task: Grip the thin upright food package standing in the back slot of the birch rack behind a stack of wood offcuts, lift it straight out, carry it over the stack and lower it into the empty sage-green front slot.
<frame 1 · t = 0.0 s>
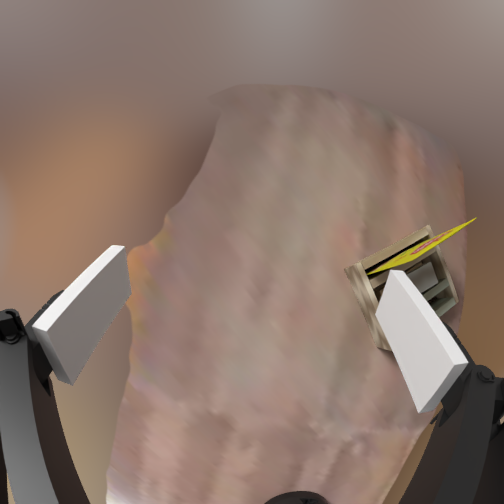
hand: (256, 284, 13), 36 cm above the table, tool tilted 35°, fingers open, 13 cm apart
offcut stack: (397, 286, 49), resting in rack
food package: (386, 261, 50), resting in rack
rack: (395, 279, 49), on the table
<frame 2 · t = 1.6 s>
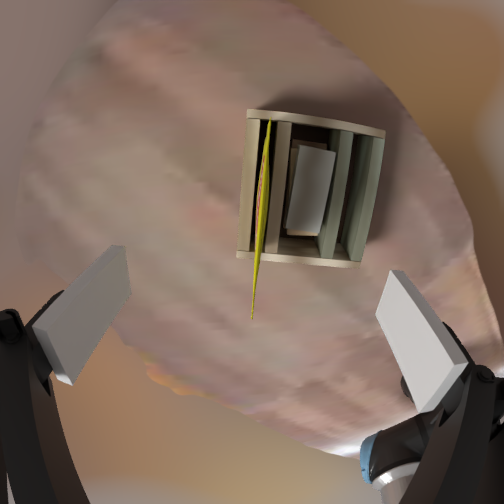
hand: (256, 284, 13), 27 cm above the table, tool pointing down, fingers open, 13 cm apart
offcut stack: (302, 183, 37), resting in rack
food package: (263, 179, 38), resting in rack
rack: (292, 182, 37), on the table
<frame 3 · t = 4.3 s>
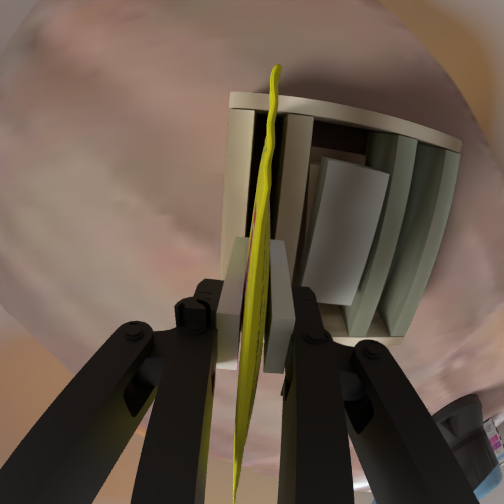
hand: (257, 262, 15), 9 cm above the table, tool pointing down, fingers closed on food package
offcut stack: (323, 217, 24), resting in rack
food package: (261, 210, 24), resting in rack, touching gripper
candy bar box: (483, 425, 46), on the table
rack: (307, 215, 24), on the table
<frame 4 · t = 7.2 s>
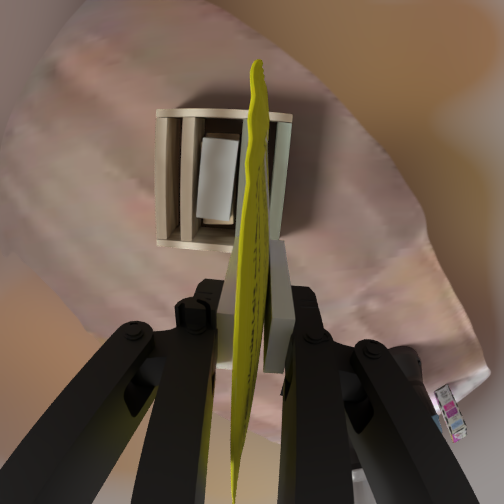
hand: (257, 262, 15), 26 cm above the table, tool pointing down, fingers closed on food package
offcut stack: (222, 174, 39), resting in rack
food package: (263, 210, 24), point 16 cm above the table, touching gripper
candy bar box: (441, 394, 61), on the table
rack: (212, 174, 39), on the table
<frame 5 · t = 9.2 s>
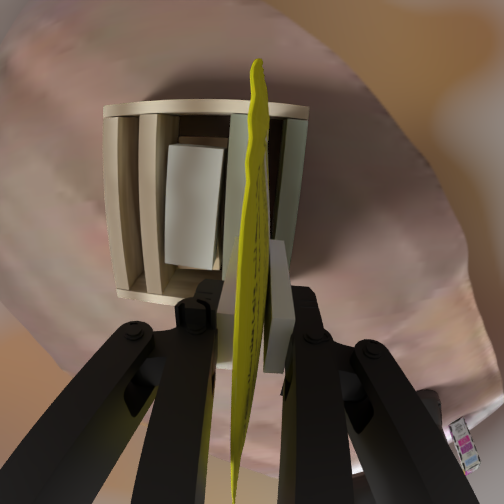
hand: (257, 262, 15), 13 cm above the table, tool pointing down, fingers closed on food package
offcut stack: (204, 196, 27), resting in rack
food package: (263, 210, 24), point 4 cm above the table, touching gripper
candy bar box: (455, 425, 49), on the table
rack: (191, 195, 27), on the table
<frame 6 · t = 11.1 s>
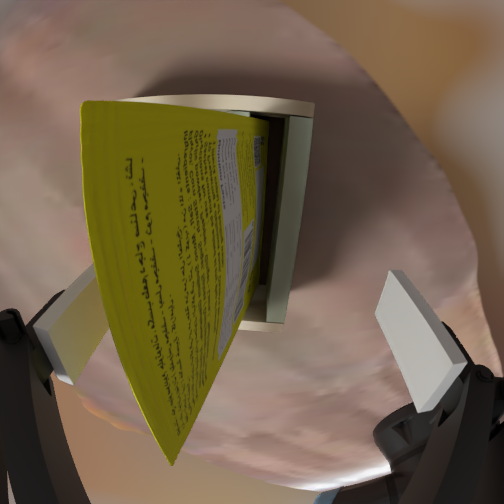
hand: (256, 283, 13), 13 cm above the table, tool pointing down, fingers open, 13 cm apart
food package: (264, 206, 25), resting in rack
rack: (184, 201, 25), on the table
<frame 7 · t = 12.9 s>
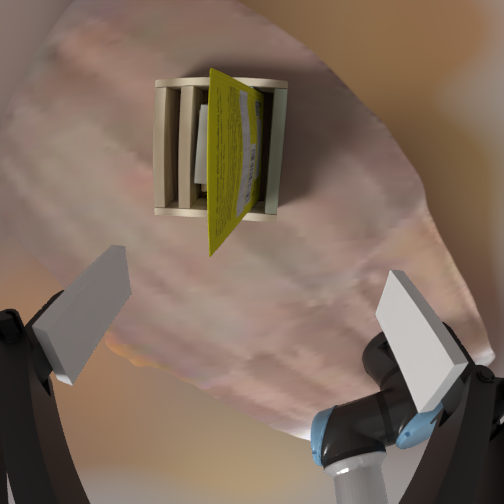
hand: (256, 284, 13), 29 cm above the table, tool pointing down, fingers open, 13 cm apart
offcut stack: (220, 144, 38), resting in rack
food package: (262, 146, 38), resting in rack
rack: (210, 144, 38), on the table
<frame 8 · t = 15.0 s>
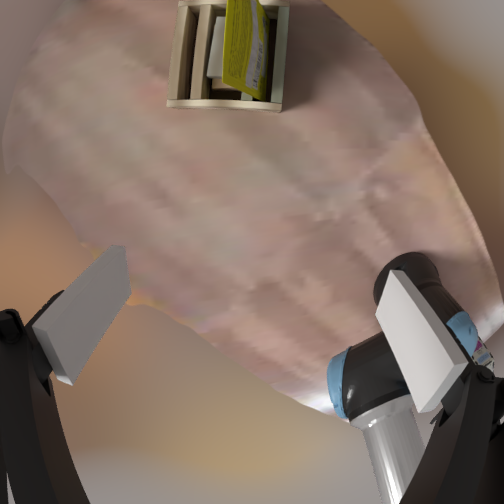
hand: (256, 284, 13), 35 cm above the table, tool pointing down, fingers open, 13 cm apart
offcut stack: (230, 57, 37), resting in rack
food package: (268, 59, 37), resting in rack
candy bar box: (460, 333, 59), on the table
rack: (221, 57, 37), on the table
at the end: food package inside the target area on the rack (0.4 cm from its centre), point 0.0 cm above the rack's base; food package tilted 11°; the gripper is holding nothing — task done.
